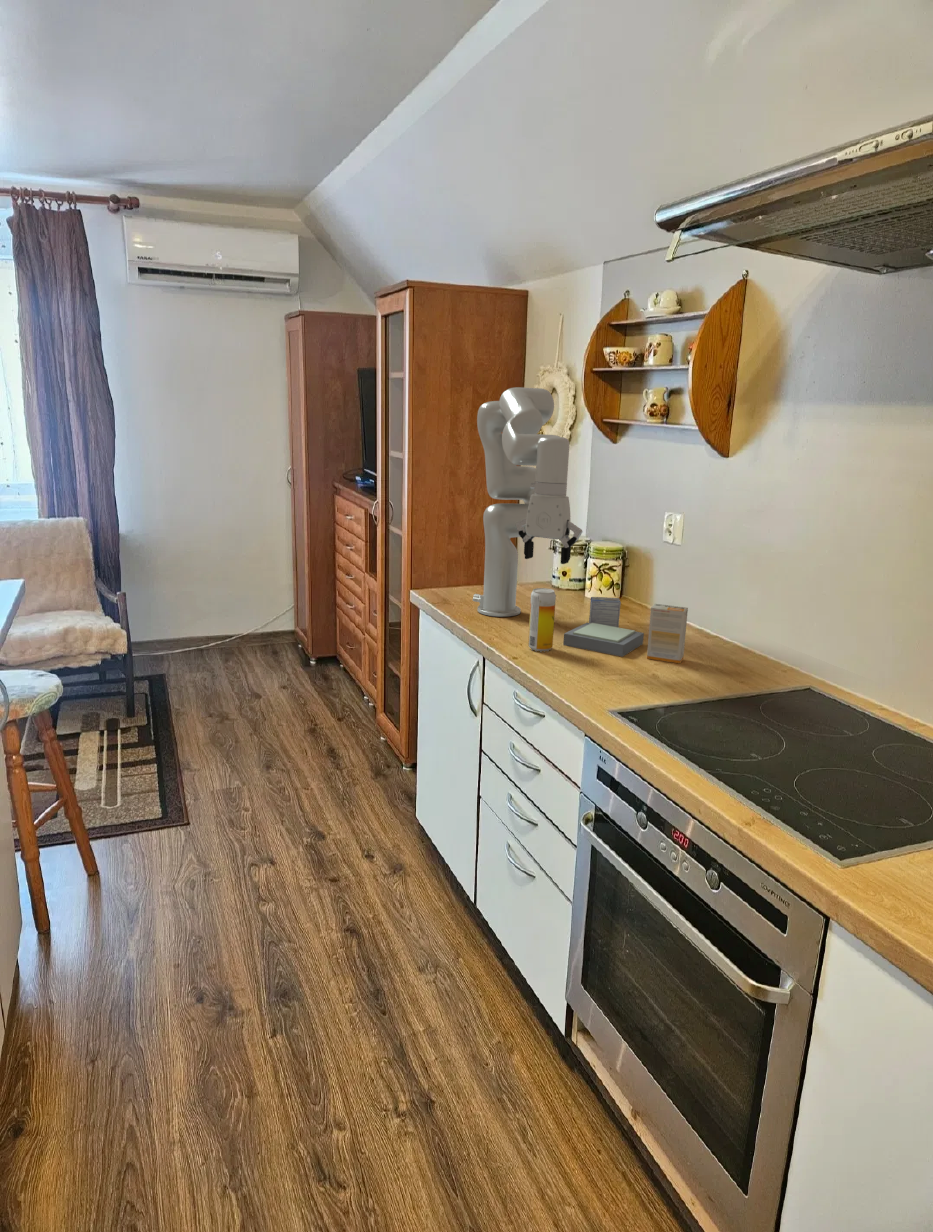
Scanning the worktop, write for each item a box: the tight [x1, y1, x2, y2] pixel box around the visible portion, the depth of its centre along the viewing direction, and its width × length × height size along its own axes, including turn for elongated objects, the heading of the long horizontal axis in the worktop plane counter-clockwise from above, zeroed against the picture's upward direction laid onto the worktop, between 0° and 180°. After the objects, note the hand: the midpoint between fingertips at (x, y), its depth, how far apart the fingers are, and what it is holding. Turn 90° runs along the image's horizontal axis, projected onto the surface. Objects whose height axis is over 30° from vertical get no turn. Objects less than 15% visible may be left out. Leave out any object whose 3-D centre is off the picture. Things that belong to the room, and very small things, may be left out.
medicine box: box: [588, 596, 622, 628], centre depth 223 cm, size 8×4×9 cm, turn 84°
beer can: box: [527, 587, 557, 653], centre depth 202 cm, size 6×6×15 cm
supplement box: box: [646, 603, 689, 664], centre depth 197 cm, size 8×5×13 cm, turn 65°
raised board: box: [562, 622, 645, 658], centre depth 209 cm, size 16×14×4 cm
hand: (546, 560), depth 198 cm, fingers open, 9 cm apart
